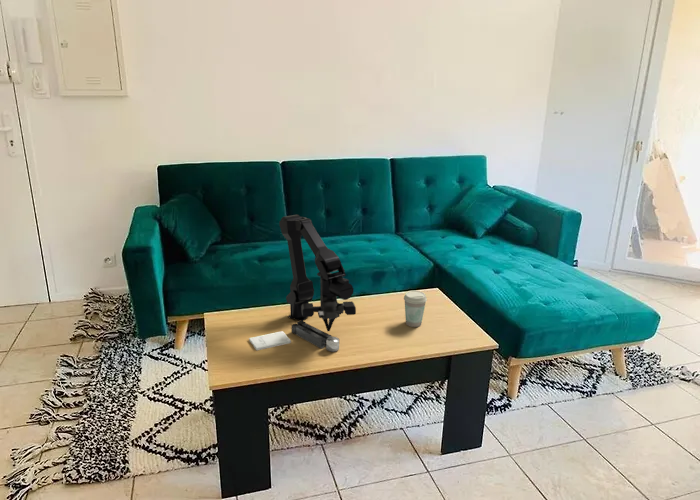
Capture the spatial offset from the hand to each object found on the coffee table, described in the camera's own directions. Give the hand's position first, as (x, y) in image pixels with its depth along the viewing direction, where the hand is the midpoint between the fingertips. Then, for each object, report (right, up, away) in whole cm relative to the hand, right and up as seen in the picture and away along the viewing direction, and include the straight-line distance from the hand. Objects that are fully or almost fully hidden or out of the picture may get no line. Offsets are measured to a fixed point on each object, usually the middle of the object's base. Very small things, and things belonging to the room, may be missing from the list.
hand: (328, 330), depth 189 cm
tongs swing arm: (-4, -2, -4) cm, 6 cm away
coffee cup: (+32, +1, +11) cm, 34 cm away
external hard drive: (-20, -4, -5) cm, 21 cm away
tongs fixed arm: (-7, -3, -3) cm, 8 cm away
